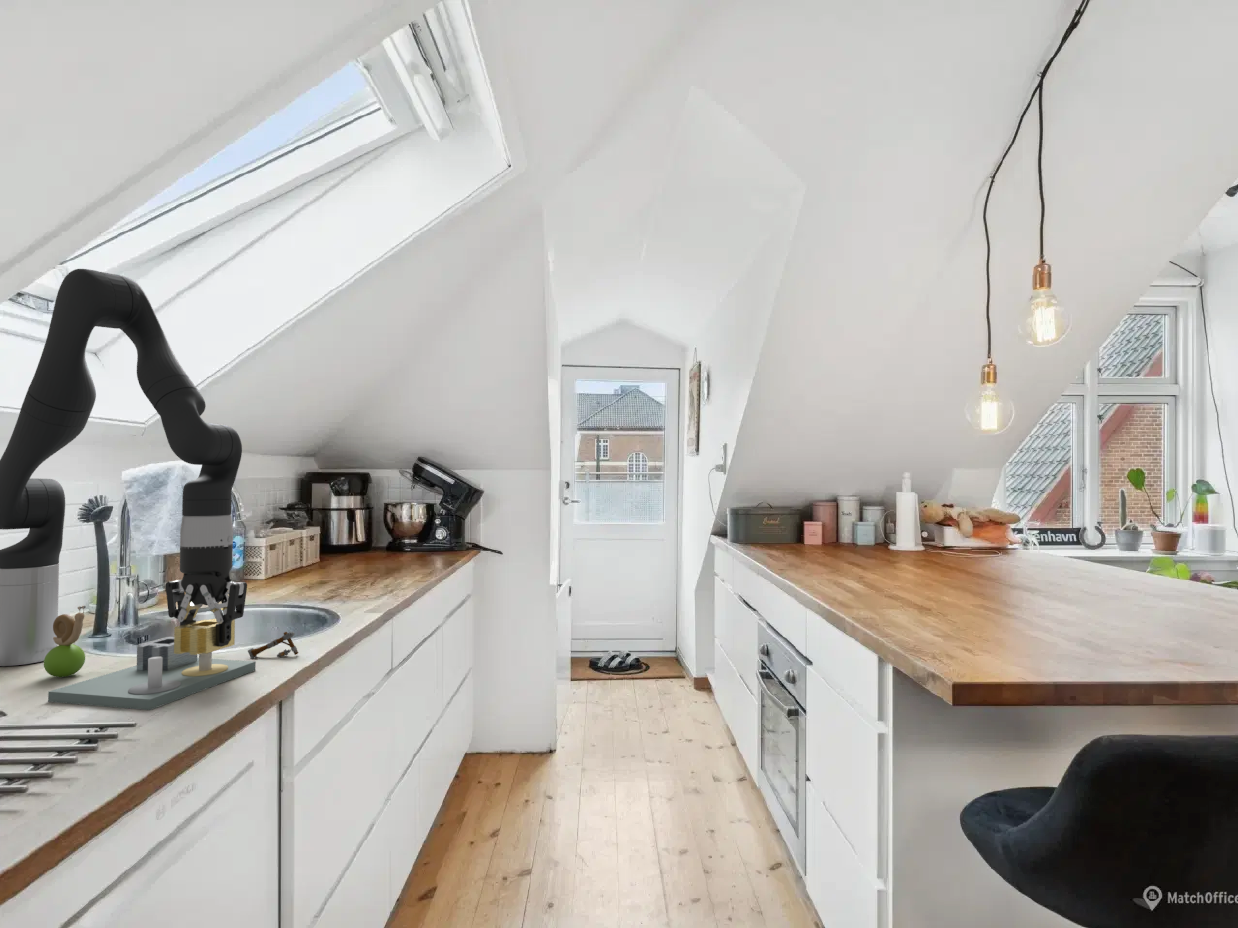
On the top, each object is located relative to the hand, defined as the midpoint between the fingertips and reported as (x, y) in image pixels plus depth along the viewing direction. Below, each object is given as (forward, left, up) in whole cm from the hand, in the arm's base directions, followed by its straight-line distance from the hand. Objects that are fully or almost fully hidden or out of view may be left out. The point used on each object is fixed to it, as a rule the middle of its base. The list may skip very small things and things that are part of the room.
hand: (205, 644), depth 113 cm
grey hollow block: (-9, +2, -4) cm, 10 cm away
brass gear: (0, 0, -1) cm, 1 cm away
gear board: (-5, -4, -6) cm, 9 cm away
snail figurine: (-24, -3, -6) cm, 25 cm away
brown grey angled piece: (0, +16, -6) cm, 17 cm away
